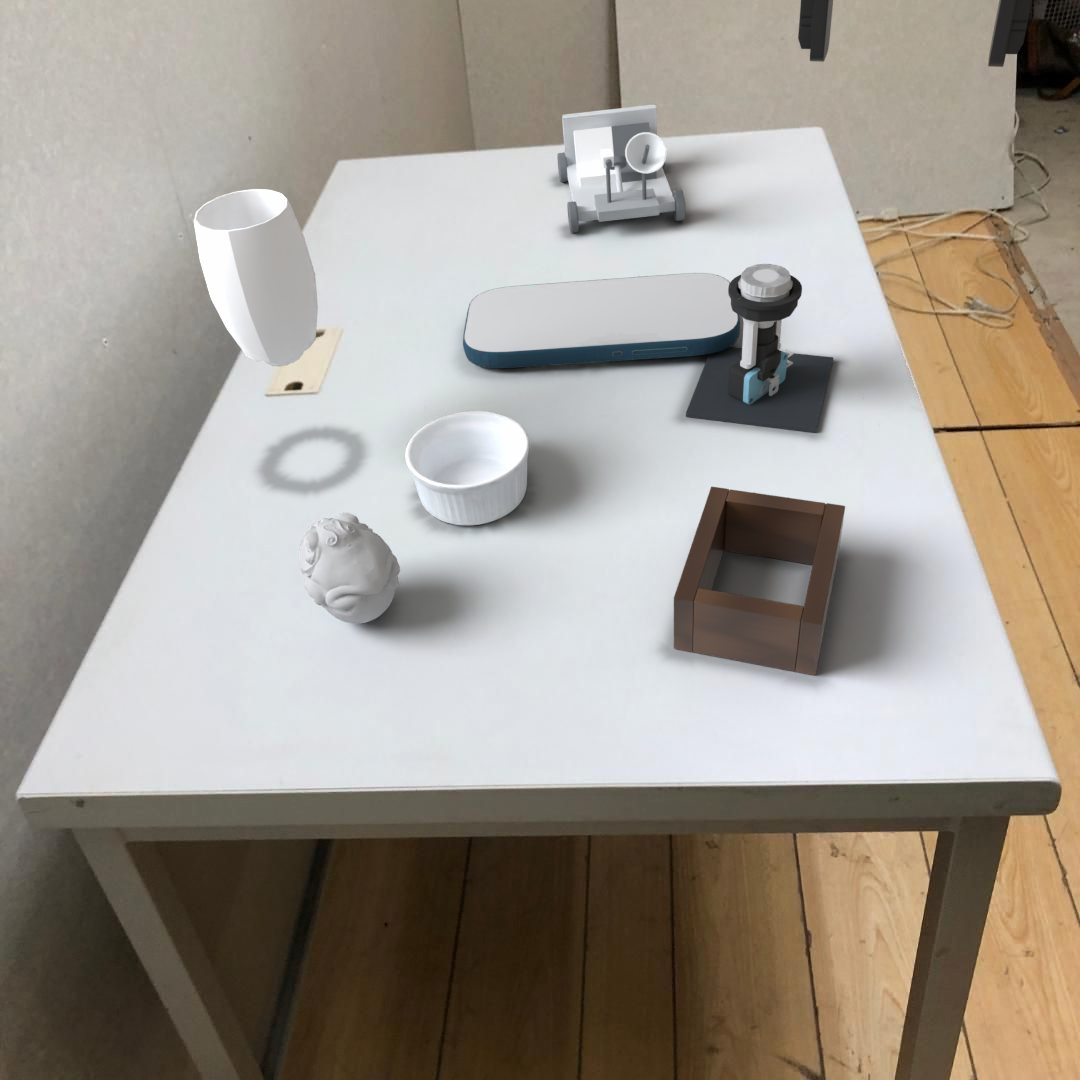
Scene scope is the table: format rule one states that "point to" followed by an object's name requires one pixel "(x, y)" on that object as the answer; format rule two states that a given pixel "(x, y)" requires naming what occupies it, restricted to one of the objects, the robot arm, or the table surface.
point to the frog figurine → (348, 568)
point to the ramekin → (469, 466)
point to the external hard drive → (600, 321)
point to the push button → (761, 329)
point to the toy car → (616, 166)
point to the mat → (783, 409)
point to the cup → (259, 273)
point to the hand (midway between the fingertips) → (905, 59)
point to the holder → (753, 622)
